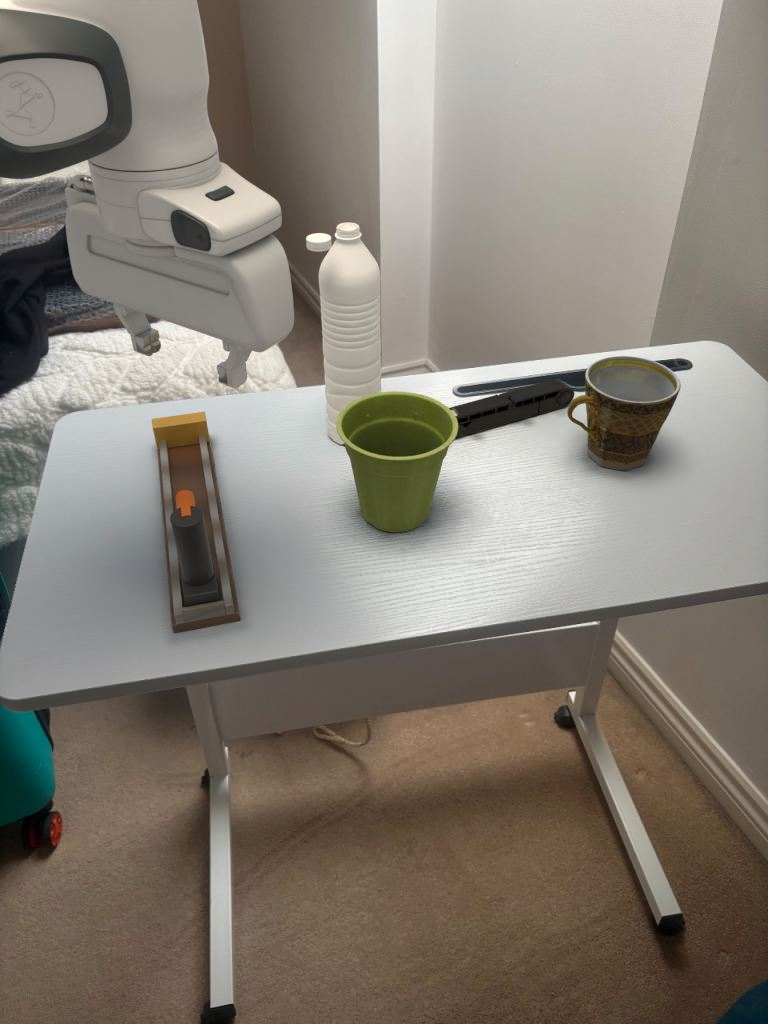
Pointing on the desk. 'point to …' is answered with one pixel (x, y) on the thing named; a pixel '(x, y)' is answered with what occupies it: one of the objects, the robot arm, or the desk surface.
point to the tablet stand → (512, 406)
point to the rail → (198, 475)
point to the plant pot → (396, 454)
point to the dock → (180, 429)
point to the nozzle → (193, 552)
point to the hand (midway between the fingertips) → (189, 366)
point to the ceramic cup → (625, 409)
